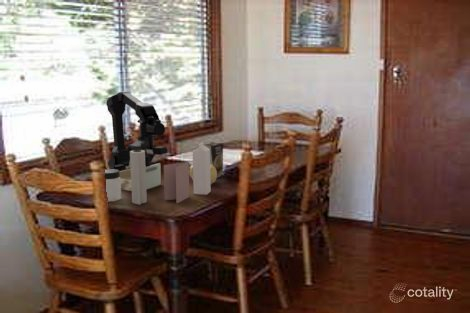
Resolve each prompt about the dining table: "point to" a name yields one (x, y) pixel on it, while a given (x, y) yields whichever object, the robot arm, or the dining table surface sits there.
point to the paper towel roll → (138, 176)
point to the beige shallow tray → (125, 179)
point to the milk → (201, 170)
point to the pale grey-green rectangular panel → (153, 176)
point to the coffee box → (216, 156)
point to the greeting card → (176, 181)
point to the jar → (113, 184)
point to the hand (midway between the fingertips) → (147, 168)
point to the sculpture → (212, 173)
